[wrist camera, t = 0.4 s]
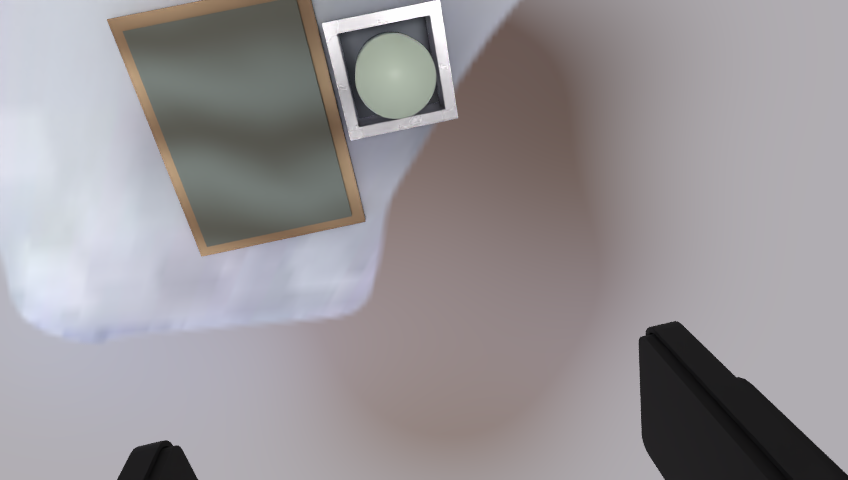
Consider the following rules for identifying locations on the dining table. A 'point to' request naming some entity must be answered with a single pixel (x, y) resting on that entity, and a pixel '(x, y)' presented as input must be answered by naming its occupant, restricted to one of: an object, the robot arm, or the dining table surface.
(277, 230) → the slate board
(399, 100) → the button cap
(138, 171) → the dining table surface
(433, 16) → the button housing
